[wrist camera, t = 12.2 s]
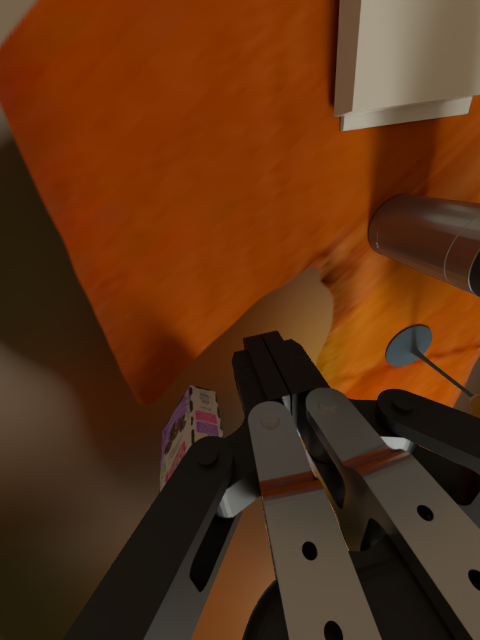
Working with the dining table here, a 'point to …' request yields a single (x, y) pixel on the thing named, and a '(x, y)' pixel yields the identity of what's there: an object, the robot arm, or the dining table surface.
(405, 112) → the cutting board
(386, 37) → the tile
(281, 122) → the dining table surface
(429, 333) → the cocktail glass
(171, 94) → the dining table surface
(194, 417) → the candy box
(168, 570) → the robot arm
